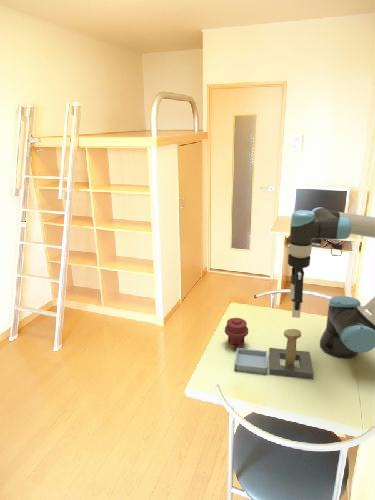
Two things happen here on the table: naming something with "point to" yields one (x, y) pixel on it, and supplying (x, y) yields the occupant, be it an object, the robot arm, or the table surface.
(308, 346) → the table surface
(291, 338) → the handle
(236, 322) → the mechanical component
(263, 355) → the tray
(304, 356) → the slotted grey plate
